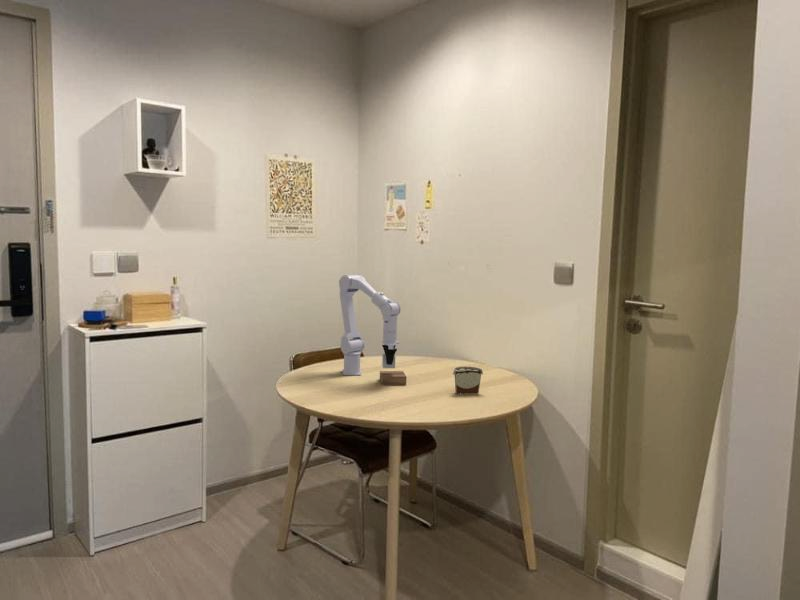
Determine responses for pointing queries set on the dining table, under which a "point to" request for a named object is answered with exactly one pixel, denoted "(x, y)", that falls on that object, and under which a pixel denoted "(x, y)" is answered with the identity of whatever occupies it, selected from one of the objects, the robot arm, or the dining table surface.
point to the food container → (467, 379)
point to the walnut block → (393, 378)
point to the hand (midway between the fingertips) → (388, 363)
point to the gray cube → (386, 362)
